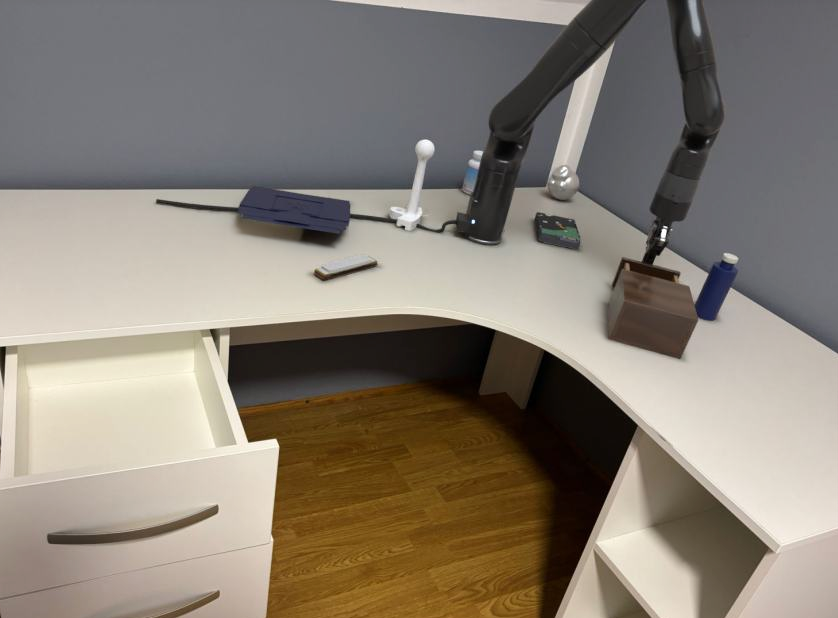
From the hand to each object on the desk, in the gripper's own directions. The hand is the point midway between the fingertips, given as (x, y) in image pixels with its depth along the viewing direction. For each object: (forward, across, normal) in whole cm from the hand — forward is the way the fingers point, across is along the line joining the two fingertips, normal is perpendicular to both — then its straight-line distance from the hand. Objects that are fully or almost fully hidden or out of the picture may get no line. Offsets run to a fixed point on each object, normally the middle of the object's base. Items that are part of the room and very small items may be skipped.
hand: (645, 268), depth 156 cm
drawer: (+4, +10, 0) cm, 11 cm away
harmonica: (+5, +31, -60) cm, 68 cm away
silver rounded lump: (+5, -50, -20) cm, 55 cm away
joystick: (+5, -4, -56) cm, 56 cm away
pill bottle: (+5, -37, -44) cm, 58 cm away
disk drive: (+5, -20, -20) cm, 28 cm away
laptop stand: (+5, +12, -78) cm, 79 cm away
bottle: (+5, +6, +14) cm, 16 cm away
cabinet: (+5, +22, 0) cm, 22 cm away
